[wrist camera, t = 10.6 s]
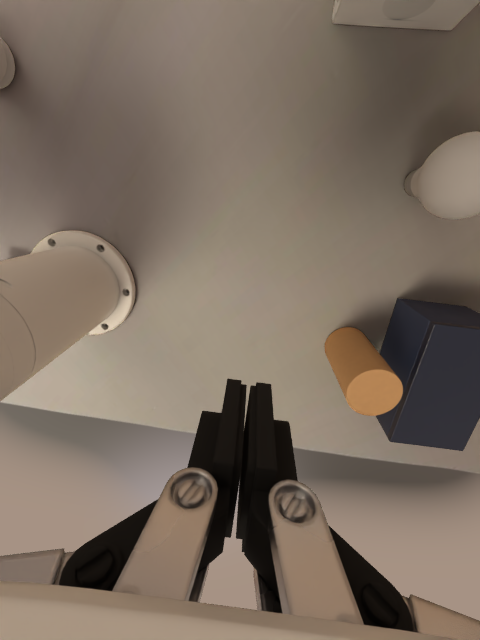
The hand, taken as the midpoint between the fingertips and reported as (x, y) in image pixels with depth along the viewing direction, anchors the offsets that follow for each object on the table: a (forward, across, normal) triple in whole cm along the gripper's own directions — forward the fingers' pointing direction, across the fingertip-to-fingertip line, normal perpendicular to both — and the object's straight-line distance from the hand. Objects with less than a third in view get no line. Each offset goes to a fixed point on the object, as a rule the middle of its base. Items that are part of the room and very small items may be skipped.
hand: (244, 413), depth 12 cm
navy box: (+25, -21, +8) cm, 34 cm away
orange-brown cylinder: (+23, -17, +8) cm, 30 cm away
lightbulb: (+25, -15, -11) cm, 31 cm away
